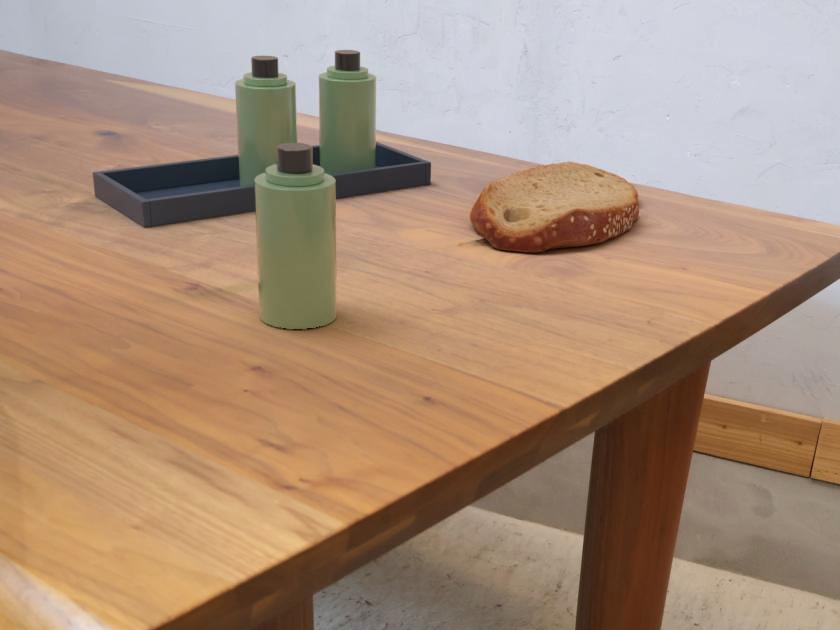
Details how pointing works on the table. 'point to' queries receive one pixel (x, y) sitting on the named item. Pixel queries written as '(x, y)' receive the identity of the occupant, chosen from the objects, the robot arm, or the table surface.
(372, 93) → the bottle far
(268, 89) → the bottle mid
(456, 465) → the table surface
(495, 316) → the table surface
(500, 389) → the table surface
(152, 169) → the tray
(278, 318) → the bottle loose
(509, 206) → the slice of bread
